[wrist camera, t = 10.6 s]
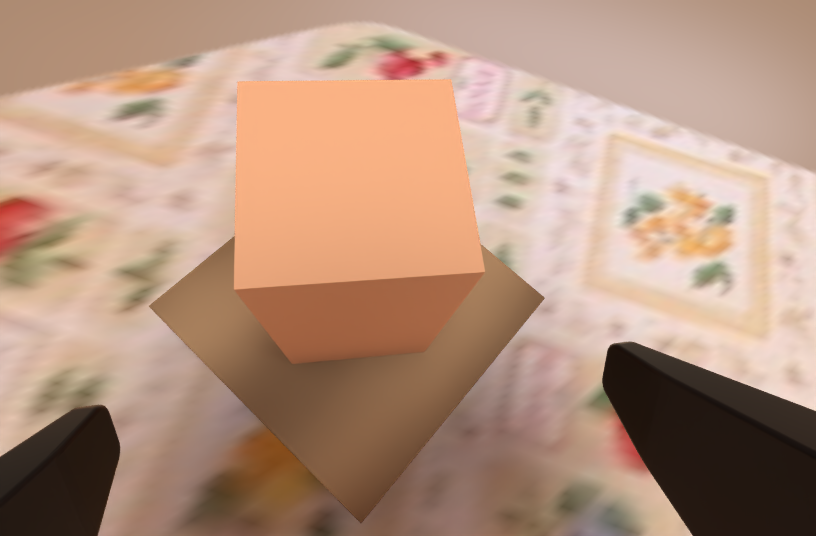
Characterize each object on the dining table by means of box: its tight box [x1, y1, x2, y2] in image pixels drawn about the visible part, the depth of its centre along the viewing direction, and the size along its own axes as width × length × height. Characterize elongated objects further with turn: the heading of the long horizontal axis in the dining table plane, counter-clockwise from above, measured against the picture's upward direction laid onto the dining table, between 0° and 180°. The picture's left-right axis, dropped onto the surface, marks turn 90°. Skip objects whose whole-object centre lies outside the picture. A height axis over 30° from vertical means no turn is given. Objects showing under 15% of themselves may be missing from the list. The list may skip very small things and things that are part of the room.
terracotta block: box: [234, 79, 485, 364], centre depth 14 cm, size 5×5×9 cm
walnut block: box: [149, 236, 544, 523], centre depth 20 cm, size 11×11×4 cm
